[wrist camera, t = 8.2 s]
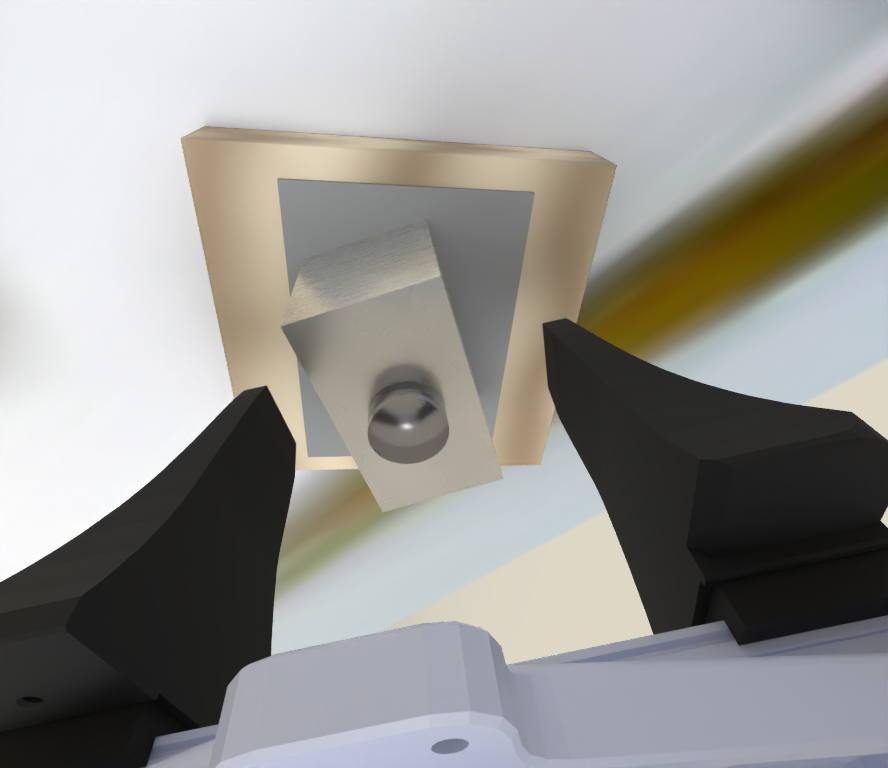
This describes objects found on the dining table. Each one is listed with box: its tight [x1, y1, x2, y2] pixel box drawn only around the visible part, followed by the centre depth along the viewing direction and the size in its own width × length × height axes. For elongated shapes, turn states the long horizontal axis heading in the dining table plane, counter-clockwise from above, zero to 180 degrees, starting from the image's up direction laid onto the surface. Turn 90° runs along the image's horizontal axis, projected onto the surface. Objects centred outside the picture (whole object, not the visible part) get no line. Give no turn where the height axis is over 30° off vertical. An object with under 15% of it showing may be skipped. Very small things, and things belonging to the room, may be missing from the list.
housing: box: [280, 219, 503, 512], centre depth 17 cm, size 4×8×6 cm, turn 16°
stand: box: [181, 127, 617, 470], centre depth 21 cm, size 14×14×3 cm
